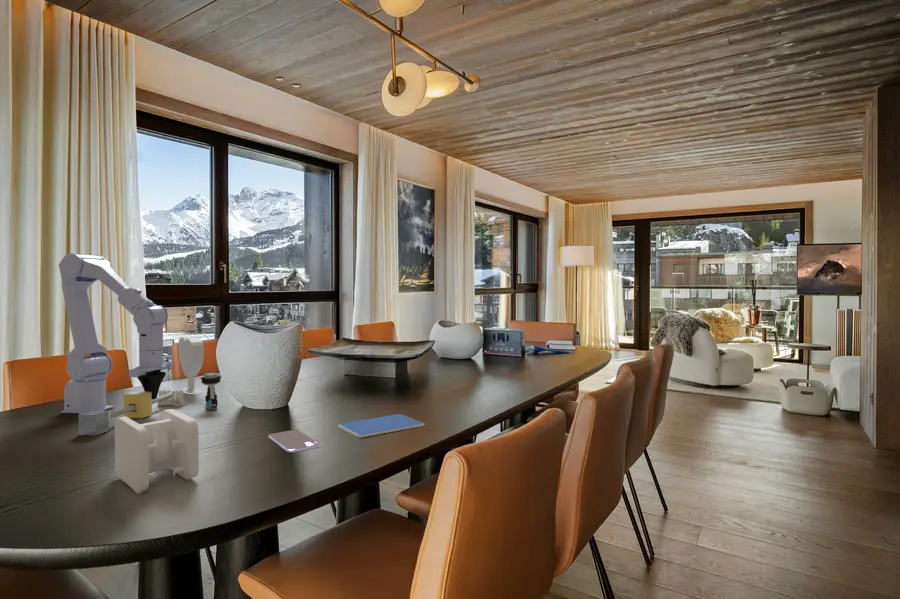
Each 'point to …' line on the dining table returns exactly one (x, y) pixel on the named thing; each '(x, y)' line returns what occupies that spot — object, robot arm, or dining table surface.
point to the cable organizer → (156, 448)
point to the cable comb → (176, 397)
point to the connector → (94, 422)
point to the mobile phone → (294, 441)
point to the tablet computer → (379, 425)
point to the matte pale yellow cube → (138, 404)
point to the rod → (133, 407)
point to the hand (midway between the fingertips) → (151, 398)
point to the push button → (211, 389)
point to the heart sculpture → (191, 359)
